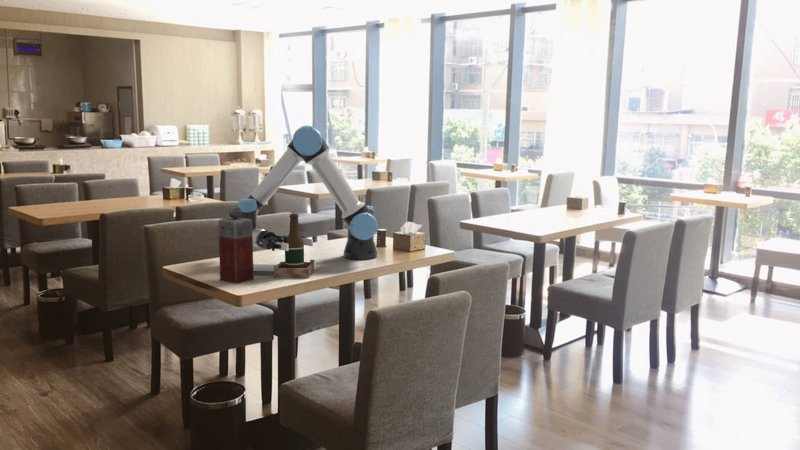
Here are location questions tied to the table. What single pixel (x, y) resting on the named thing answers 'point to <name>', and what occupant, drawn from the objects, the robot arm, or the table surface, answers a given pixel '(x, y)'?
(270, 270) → the trivet
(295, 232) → the beer bottle
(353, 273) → the table surface
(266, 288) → the table surface
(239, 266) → the red square bottle
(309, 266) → the wooden tray
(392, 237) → the table surface
